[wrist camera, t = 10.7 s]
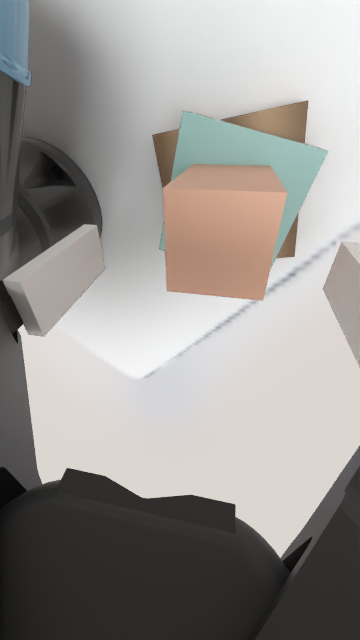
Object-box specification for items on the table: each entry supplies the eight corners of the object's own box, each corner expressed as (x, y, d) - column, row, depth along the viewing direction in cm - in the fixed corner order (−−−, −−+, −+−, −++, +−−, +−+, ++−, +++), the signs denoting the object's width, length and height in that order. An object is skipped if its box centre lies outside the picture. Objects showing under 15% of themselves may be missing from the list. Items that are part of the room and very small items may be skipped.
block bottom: (183, 252, 34) (177, 265, 31) (163, 133, 27) (152, 134, 24) (289, 242, 31) (294, 256, 28) (299, 102, 23) (308, 100, 20)
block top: (168, 235, 29) (159, 249, 26) (191, 112, 22) (182, 110, 19) (262, 262, 29) (265, 279, 26) (315, 146, 22) (328, 151, 19)
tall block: (191, 237, 24) (166, 291, 17) (193, 163, 21) (162, 188, 13) (256, 241, 23) (262, 300, 16) (270, 165, 20) (287, 192, 12)
